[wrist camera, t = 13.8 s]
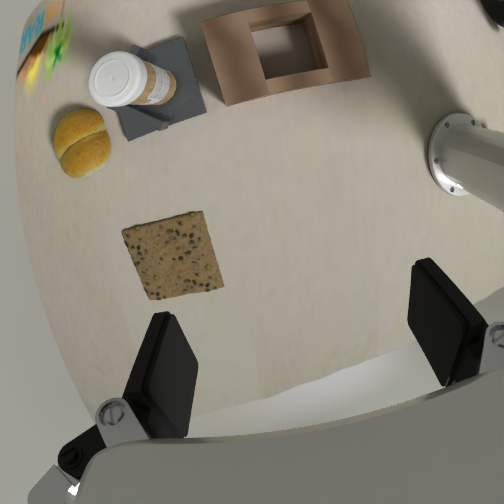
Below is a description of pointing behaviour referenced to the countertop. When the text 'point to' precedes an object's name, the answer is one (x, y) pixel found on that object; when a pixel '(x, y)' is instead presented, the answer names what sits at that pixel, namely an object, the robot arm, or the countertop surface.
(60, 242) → the countertop surface
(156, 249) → the cookie
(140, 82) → the sprinkles bottle
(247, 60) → the wooden block with hole
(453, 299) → the robot arm
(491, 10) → the milk frother
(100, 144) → the bread roll
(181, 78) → the v block
